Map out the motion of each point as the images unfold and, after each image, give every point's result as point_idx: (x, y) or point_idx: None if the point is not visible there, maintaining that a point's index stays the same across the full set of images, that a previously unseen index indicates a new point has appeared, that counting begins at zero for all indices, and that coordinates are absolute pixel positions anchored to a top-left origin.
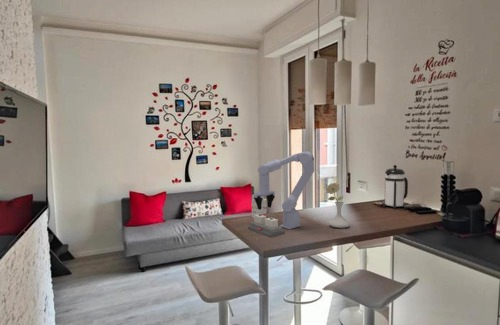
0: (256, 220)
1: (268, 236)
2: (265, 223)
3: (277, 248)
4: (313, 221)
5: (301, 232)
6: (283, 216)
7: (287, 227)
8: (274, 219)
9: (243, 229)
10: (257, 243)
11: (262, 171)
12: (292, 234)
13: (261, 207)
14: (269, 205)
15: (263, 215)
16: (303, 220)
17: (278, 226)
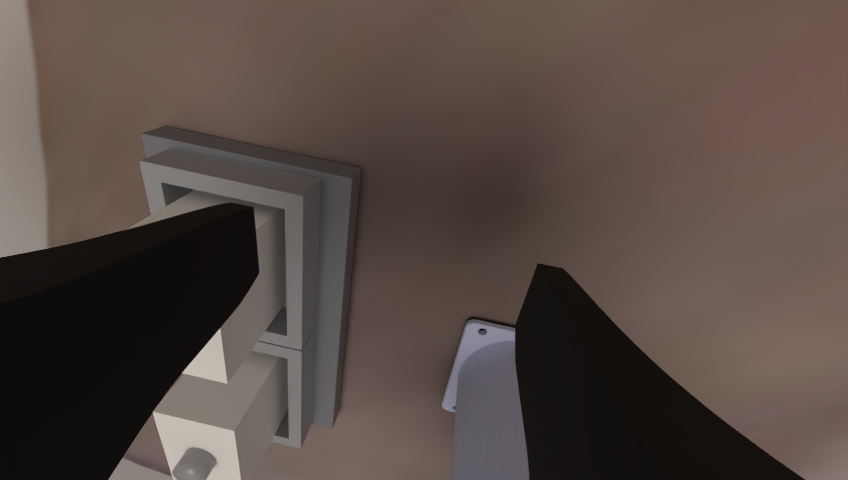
0: None
1: None
2: (189, 377)
3: (143, 460)
4: (801, 456)
5: (436, 468)
6: (466, 441)
7: (451, 392)
8: (220, 477)
9: (114, 101)
10: None
11: None
12: (361, 445)
13: None
14: (525, 345)
15: (220, 343)
16: (812, 390)
17: (293, 425)
